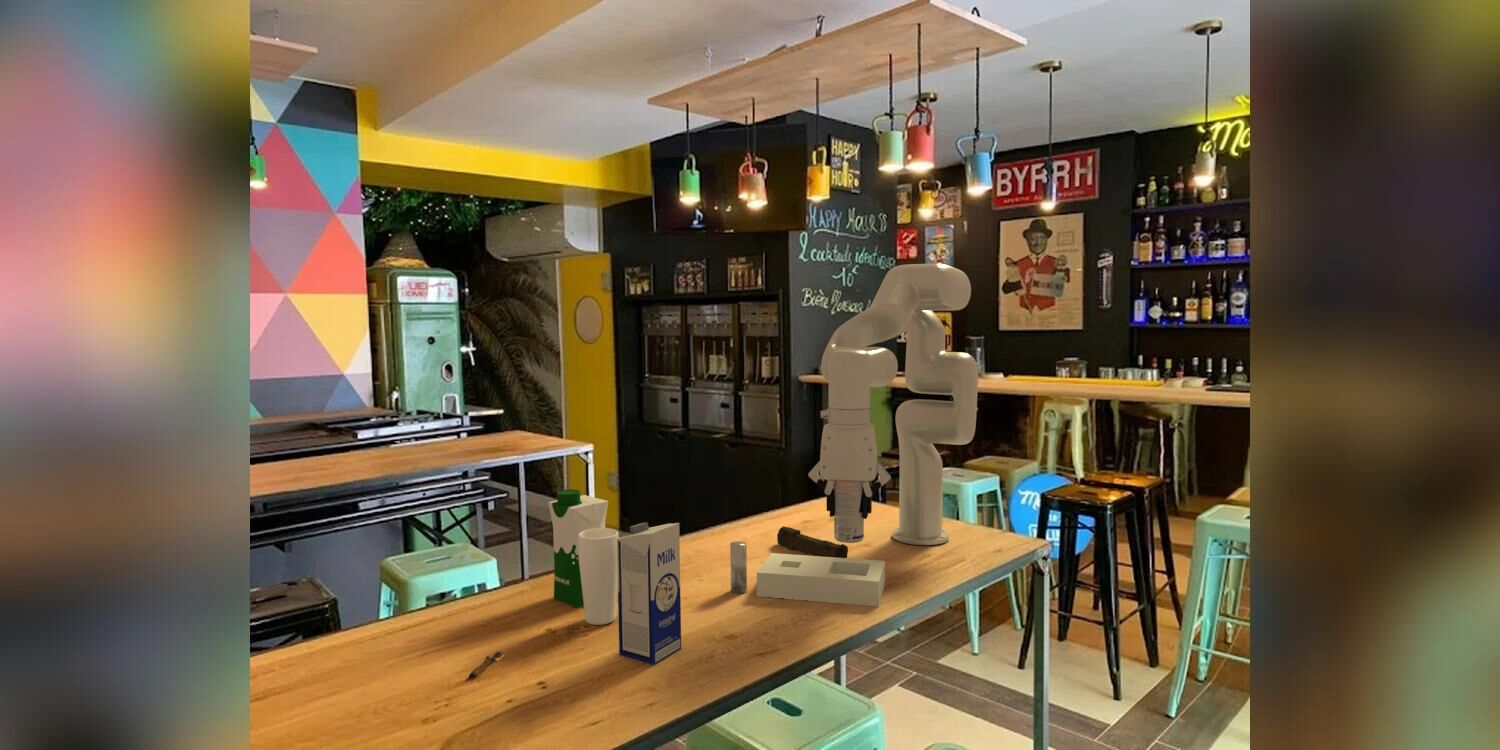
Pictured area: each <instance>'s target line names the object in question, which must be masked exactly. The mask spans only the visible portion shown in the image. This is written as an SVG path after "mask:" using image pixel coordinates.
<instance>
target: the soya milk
mask: <svg viewBox="0 0 1500 750" xmlns="http://www.w3.org/2000/svg"><path fill="white" fill-rule="evenodd" d="M556 497H557V498H556V500H551V501H549V502H548V507H549V513H550V517H551V523H552V530H553V531H552V532H553V563H554V564H553V565H554V567H553V568H554V569H553V570H554V572H553V573H554V574H553V575H554V577H553V578H554V580H553V581H554V582H553V583H554V584H553V599H554V600H557V601H559V602H561V603H563V604H566V605H568V606H570V607H572V608H573V607H574V608H575V609H576V608H579V607H582V606H583V607H584V603H583V594H582V585H581V576H580V568H579V557H578V535H579V533H580V532H582V531H585V530H589V529H595V528H606V517H607V510H608V506H609V501H608V500H605V499H602V498H598V497H593V496H590V495H585V494H584V495H583V494H582V495H581V491H580V490H579V489H563V490H559V491H558V492H557V494H556Z"/></svg>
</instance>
